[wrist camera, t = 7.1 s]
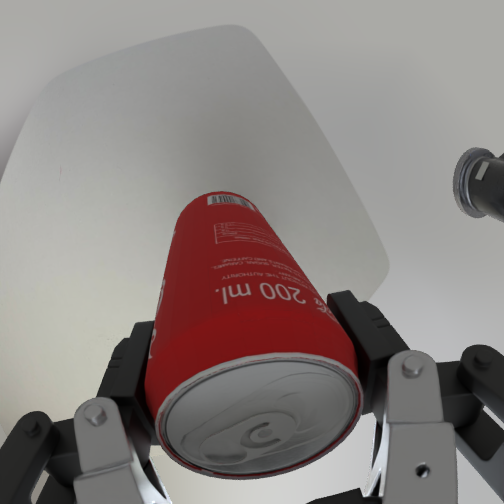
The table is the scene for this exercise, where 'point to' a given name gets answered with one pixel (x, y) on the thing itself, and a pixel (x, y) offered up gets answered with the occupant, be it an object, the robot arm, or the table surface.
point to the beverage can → (245, 351)
